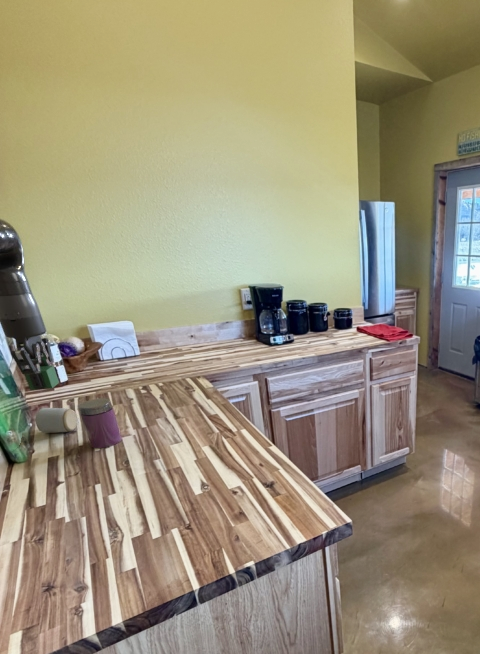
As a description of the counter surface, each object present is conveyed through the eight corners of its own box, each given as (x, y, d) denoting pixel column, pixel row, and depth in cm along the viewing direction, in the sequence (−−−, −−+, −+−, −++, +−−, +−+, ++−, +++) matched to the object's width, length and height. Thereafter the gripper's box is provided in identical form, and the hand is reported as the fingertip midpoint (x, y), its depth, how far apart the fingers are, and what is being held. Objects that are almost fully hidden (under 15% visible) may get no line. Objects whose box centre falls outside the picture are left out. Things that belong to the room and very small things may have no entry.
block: (30, 390, 99) (23, 372, 97) (38, 384, 103) (31, 366, 101) (52, 388, 100) (46, 370, 98) (59, 382, 104) (53, 365, 102)
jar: (86, 450, 117) (73, 412, 112) (94, 437, 124) (83, 402, 119) (118, 445, 120) (107, 408, 115) (124, 434, 126) (114, 399, 122)
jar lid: (76, 416, 113) (74, 409, 112) (85, 406, 120) (83, 400, 119) (108, 413, 116) (106, 406, 115) (114, 403, 122) (112, 397, 121)
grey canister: (69, 435, 125) (61, 411, 122) (39, 437, 124) (31, 413, 121) (87, 421, 135) (80, 399, 132) (60, 423, 134) (52, 400, 131)
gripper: (14, 310, 99) (38, 378, 106) (-18, 321, 87) (12, 397, 94) (51, 308, 102) (72, 375, 109) (25, 319, 89) (51, 393, 96)
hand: (44, 385), depth 101 cm, fingers closed on block, 4 cm apart
